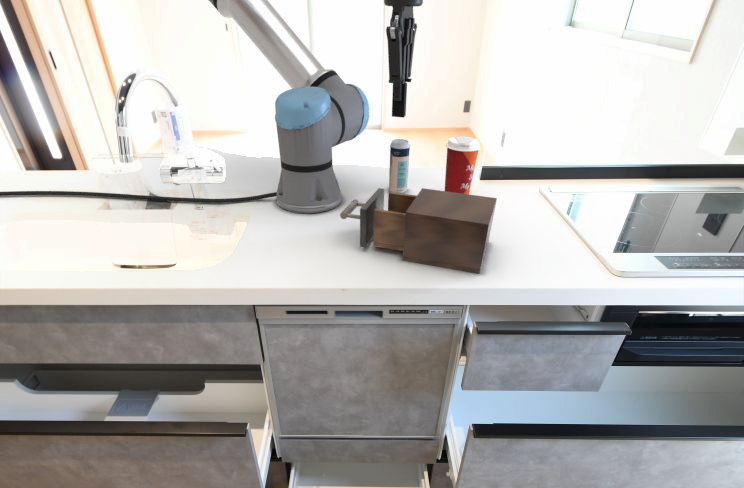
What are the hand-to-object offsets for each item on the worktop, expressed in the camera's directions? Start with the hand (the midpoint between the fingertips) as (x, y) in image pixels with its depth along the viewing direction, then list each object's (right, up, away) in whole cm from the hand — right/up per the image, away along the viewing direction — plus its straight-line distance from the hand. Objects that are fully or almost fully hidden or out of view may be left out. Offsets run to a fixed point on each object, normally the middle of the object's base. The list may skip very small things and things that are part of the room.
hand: (398, 116), depth 98 cm
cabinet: (+9, -32, -11) cm, 35 cm away
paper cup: (+15, -16, +10) cm, 24 cm away
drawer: (-2, -29, -9) cm, 30 cm away
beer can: (+1, -12, +14) cm, 19 cm away
